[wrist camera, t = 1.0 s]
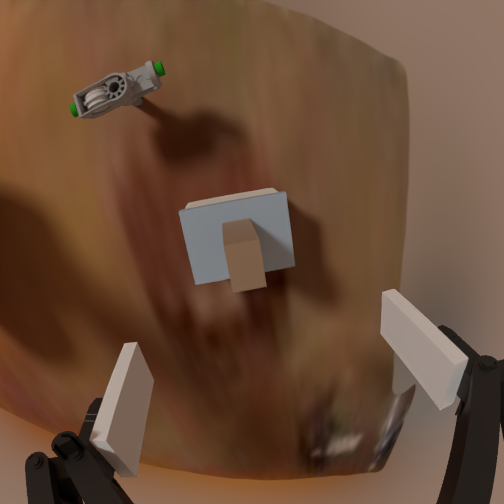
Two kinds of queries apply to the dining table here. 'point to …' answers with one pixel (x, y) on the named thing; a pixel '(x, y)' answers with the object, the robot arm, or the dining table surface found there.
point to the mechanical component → (117, 91)
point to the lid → (239, 240)
